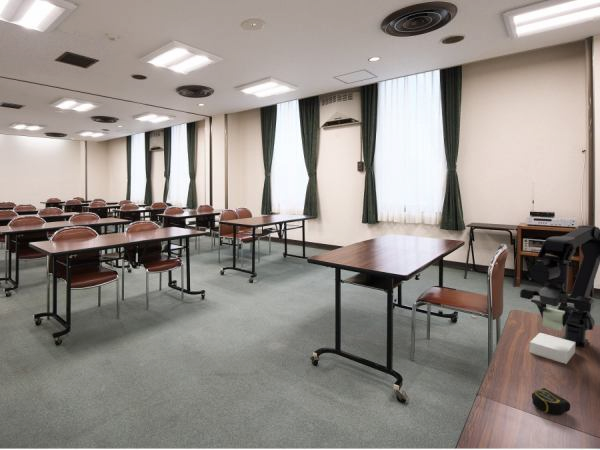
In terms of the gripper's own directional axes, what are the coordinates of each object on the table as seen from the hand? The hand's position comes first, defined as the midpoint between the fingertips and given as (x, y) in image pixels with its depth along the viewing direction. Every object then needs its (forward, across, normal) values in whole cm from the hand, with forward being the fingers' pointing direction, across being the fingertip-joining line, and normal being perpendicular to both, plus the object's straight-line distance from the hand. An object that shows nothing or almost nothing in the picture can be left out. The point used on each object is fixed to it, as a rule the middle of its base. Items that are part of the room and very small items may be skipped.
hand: (553, 323), depth 113 cm
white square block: (+10, 0, 0) cm, 11 cm away
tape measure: (+10, +8, -32) cm, 35 cm away
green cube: (+1, 0, 0) cm, 1 cm away
